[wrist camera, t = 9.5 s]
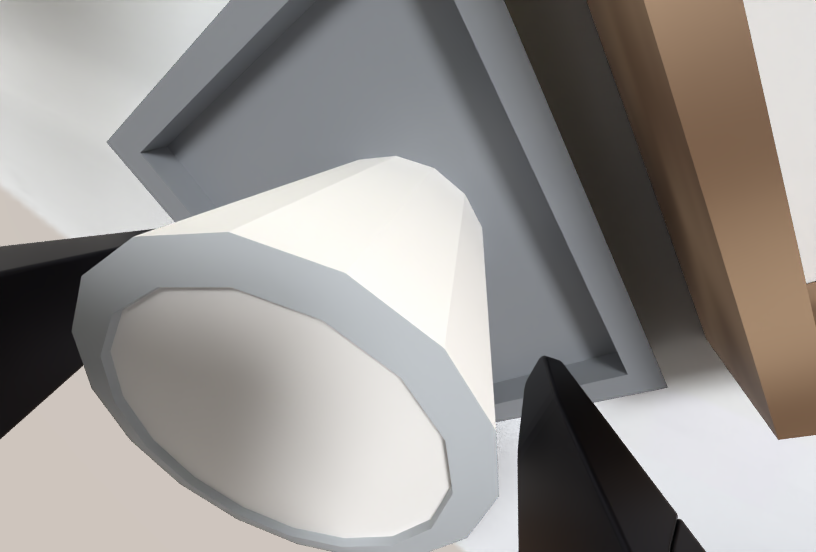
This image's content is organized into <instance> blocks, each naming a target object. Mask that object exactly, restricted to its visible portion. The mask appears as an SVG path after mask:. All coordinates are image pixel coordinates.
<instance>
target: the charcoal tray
mask: <svg viewBox="0 0 816 552" xmlns="http://www.w3.org/2000/svg"><path fill="white" fill-rule="evenodd" d="M107 143H108V145H109V146H110V147H111V148H112V149H113V150H114V152H115V153H116V154H117V155H118V156H119V157H120V159H121V160H122V161H123V162H124V163H125V164H126V166H127V167H128V168H129V169H130V170H131V171H132V173H133V174H134V175H135V176H136V177H137V178H138V180H139V181H140V182H141V183H142V184H143V185H144V187H145V188H146V189H147V190H148V191H149V192H150V194H151V195H152V196H153V197H154V198H155V199H156V201H157V202H158V203H159V204H160V205H161V206H162V208H163V209H164V210H165V211H166V212H167V213H168V215H169V216H170V217H171V218H172V219H173V220H174V222H178V221H181V220H184V219H187V218H189V217H192V216H195V215H198V214H201V213H204V212H207V211H210V210H213V209H216V208H219V207H222V206H225V205H228V204H230V203H233V202H236V201H239V200H242V199H245V198H248V197H251V196H254V195H257V194H260V193H263V192H266V191H269V190H272V189H274V188H277V187H280V186H283V185H286V184H289V183H292V182H295V181H298V180H301V179H304V178H307V177H310V176H313V175H316V174H318V173H321V172H324V171H327V170H330V169H333V168H336V167H339V166H342V165H345V164H348V163H351V162H354V161H357V160H361V159H370V158H380V157H390V156H398V157H401V158H404V159H407V160H411V161H414V162H417V163H420V164H423V165H426V166H429V167H432V168H435V169H436V170H437V171H438V172H439V173H441V174H442V175H443V176H444V177H445V178H446V179H448V180H449V181H450V182H451V183H452V184H454V185H455V186H456V187H457V188H458V189H459V190H461V191H462V192H463V193H464V194H465V195H466V197H467V199H468V201H469V203H470V205H471V207H472V209H473V211H474V213H475V215H476V217H477V219H478V221H479V223H480V225H481V227H482V233H483V247H484V262H485V277H486V291H487V306H488V320H489V335H490V349H491V364H492V378H493V393H494V407H495V422H500V421H505V420H510V419H515V418H519V417H521V414H522V404H523V395H524V387H525V384H526V381H527V379H528V377H529V375H530V373H531V372H532V370H533V368H534V366H535V365H536V363H537V361H538V360H539V358H540V357H541V356H544V355H545V356H548V357H551V358H555V359H558V360H560V361H561V362H562V363H563V364H564V365H565V366H566V368H567V369H568V370H569V372H570V373H571V374H572V376H573V377H574V378H575V380H576V381H577V382H578V384H579V385H580V386H581V388H582V389H583V390H584V391H585V393H586V394H587V395H588V397H589V398H590V399H591V401H592V402H593V403H594V402H599V401H604V400H609V399H614V398H619V397H624V396H629V395H634V394H639V393H644V392H649V391H654V390H659V389H664V388H668V387H667V385H666V382H665V380H664V377H663V375H662V373H661V370H660V368H659V366H658V363H657V361H656V359H655V356H654V354H653V351H652V349H651V347H650V344H649V342H648V340H647V337H646V335H645V333H644V330H643V328H642V325H641V323H640V321H639V318H638V316H637V314H636V311H635V309H634V307H633V304H632V302H631V299H630V297H629V295H628V292H627V290H626V288H625V285H624V283H623V281H622V278H621V276H620V273H619V271H618V269H617V266H616V264H615V262H614V259H613V257H612V255H611V252H610V250H609V247H608V245H607V243H606V240H605V238H604V236H603V233H602V231H601V228H600V226H599V224H598V221H597V219H596V217H595V214H594V212H593V210H592V207H591V205H590V202H589V200H588V198H587V195H586V193H585V191H584V188H583V186H582V184H581V181H580V179H579V176H578V174H577V172H576V169H575V167H574V165H573V162H572V160H571V158H570V155H569V153H568V150H567V148H566V146H565V143H564V141H563V139H562V136H561V134H560V132H559V129H558V127H557V124H556V122H555V120H554V117H553V115H552V113H551V110H550V108H549V106H548V103H547V101H546V98H545V96H544V94H543V91H542V89H541V87H540V84H539V82H538V80H537V77H536V75H535V72H534V70H533V68H532V65H531V63H530V61H529V58H528V56H527V54H526V51H525V49H524V46H523V44H522V42H521V39H520V37H519V35H518V32H517V30H516V28H515V25H514V23H513V20H512V18H511V16H510V13H509V11H508V9H507V6H506V4H505V2H504V0H230V1H229V3H228V4H227V5H226V6H225V7H224V8H223V9H222V11H221V12H220V13H219V14H218V15H217V16H216V17H215V19H214V20H213V21H212V22H211V23H210V24H209V25H208V27H207V28H206V29H205V30H204V31H203V32H202V33H201V35H200V36H199V37H198V38H197V39H196V40H195V41H194V43H193V44H192V45H191V46H190V47H189V48H188V49H187V51H186V52H185V53H184V54H183V55H182V56H181V57H180V59H179V60H178V61H177V62H176V63H175V64H174V65H173V67H172V68H171V69H170V70H169V71H168V72H167V73H166V75H165V76H164V77H163V78H162V79H161V80H160V82H159V83H158V84H157V85H156V86H155V87H154V88H153V90H152V91H151V92H150V93H149V94H148V95H147V96H146V98H145V99H144V100H143V101H142V102H141V103H140V104H139V106H138V107H137V108H136V109H135V110H134V111H133V112H132V114H131V115H130V116H129V117H128V118H127V119H126V120H125V122H124V123H123V124H122V125H121V126H120V127H119V128H118V130H117V131H116V132H115V133H114V134H113V135H112V136H111V138H110V139H109V140H108V141H107Z"/></svg>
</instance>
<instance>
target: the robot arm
mask: <svg viewBox="0 0 816 552" xmlns="http://www.w3.org/2000/svg"><path fill="white" fill-rule="evenodd" d="M151 230H154V229H150V230H141V231H132V232H123V233H115V234H106V235H97V236H88V237H80V238H71V239H62V240H53V241H45V242H36V243H27V244H18V245H9V246H1V247H0V439H1V438H2V437H3V436H4V435H6V434H7V433H8V432H9V431H10V430H11V429H12V428H13V427H15V426H16V425H17V424H18V423H19V422H20V421H21V420H22V419H24V418H25V417H26V416H27V415H28V414H29V413H30V412H31V411H32V410H34V409H35V408H36V407H37V406H38V405H39V404H40V403H41V402H43V401H44V400H45V399H46V398H47V397H48V396H49V395H51V394H52V393H53V392H54V391H55V390H56V389H57V388H58V387H59V386H61V385H62V384H63V383H64V382H65V381H66V380H67V379H69V378H70V377H71V376H72V375H73V374H74V373H75V372H76V371H78V370H79V369H80V368H81V367H82V366H83V362H82V359H81V356H80V354H79V351H78V348H77V345H76V342H75V339H74V337H73V334H72V326H73V321H74V315H75V310H76V304H77V299H78V293H79V287H80V282H81V276H82V275H84V274H85V273H86V272H88V271H89V270H90V269H91V268H93V267H94V266H95V265H97V264H98V263H99V262H101V261H102V260H103V259H105V258H106V257H107V256H108V255H110V254H111V253H112V252H114V251H115V250H116V249H118V248H119V247H120V246H122V245H123V244H124V243H126V242H127V241H128V240H129V239H131V238H132V237H134V236H137V235H140V234H143V233H145V232H148V231H151ZM677 518H678V515H677V513H676V512H675V511H674V509H673V508H672V507H671V505H670V504H669V503H668V501H667V500H666V499H665V497H664V496H663V495H662V493H661V492H660V491H659V489H658V488H657V487H656V485H655V484H654V483H653V481H652V480H651V479H650V477H649V476H648V475H647V473H646V472H645V471H644V470H643V468H642V467H641V466H640V464H639V463H638V462H637V460H636V459H635V458H634V456H633V455H632V454H631V452H630V451H629V450H628V448H627V447H626V446H625V444H624V443H623V442H622V440H621V439H620V438H619V436H618V435H617V434H616V432H615V431H614V430H613V429H612V427H611V426H610V425H609V423H608V422H607V421H606V419H605V418H604V417H603V415H602V414H601V413H600V411H599V410H598V409H597V407H596V406H595V405H594V403H593V402H592V401H591V399H590V398H589V397H588V395H587V394H586V393H585V391H584V390H583V389H582V388H581V386H580V385H579V384H578V382H577V381H576V380H575V378H574V377H573V376H572V374H571V373H570V372H569V370H568V369H567V368H566V366H565V365H564V364H563V363H562V362H561V361H560V360H558V359H555V358H551V357H548V356H545V355H544V356H541V357H540V358H539V360H538V361H537V363H536V365H535V366H534V368H533V370H532V372H531V373H530V375H529V377H528V379H527V381H526V384H525V387H524V395H523V404H522V414H521V423H520V433H519V442H518V537H519V552H706V551H705V550H704V548H703V547H702V546H701V545H700V543H699V542H698V541H697V539H696V538H695V537H694V535H693V534H692V533H691V531H690V530H689V529H688V527H687V526H686V525H685V524H684V522H683V521H682V520H681V519H677Z"/></svg>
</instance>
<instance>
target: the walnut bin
mask: <svg viewBox="0 0 816 552" xmlns="http://www.w3.org/2000/svg"><path fill="white" fill-rule="evenodd" d="M586 1H587V4H588V7H589V9H590V12H591V15H592V18H593V21H594V24H595V26H596V29H597V32H598V35H599V38H600V41H601V43H602V46H603V49H604V52H605V55H606V57H607V60H608V63H609V66H610V69H611V72H612V74H613V77H614V80H615V83H616V86H617V88H618V91H619V94H620V97H621V100H622V103H623V105H624V108H625V111H626V114H627V117H628V120H629V122H630V125H631V128H632V131H633V134H634V136H635V139H636V142H637V145H638V148H639V151H640V153H641V156H642V159H643V162H644V165H645V168H646V170H647V173H648V176H649V179H650V182H651V184H652V187H653V190H654V193H655V196H656V199H657V201H658V204H659V207H660V210H661V213H662V215H663V218H664V221H665V224H666V227H667V230H668V232H669V235H670V238H671V241H672V244H673V247H674V249H675V252H676V255H677V258H678V261H679V263H680V266H681V269H682V272H683V275H684V278H685V280H686V283H687V286H688V289H689V292H690V294H691V297H692V300H693V303H694V306H695V309H696V311H697V314H698V317H699V320H700V323H701V326H702V328H703V331H704V334H705V337H706V339H707V341H708V342H709V344H710V345H711V346H712V348H713V349H714V351H715V352H716V353H717V355H718V356H719V358H720V359H721V360H722V362H723V363H724V365H725V366H726V367H727V369H728V370H729V372H730V373H731V374H732V376H733V377H734V379H735V380H736V381H737V383H738V384H739V386H740V387H741V388H742V390H743V391H744V393H745V394H746V395H747V397H748V398H749V399H750V401H751V402H752V404H753V405H754V406H755V408H756V409H757V411H758V412H759V413H760V415H761V416H762V418H763V419H764V420H765V422H766V423H767V425H768V426H769V427H770V429H771V430H772V432H773V433H774V434H775V436H776V437H777V439H778V440H780V439H788V438H796V437H803V436H811V435H816V282H813V283H809V284H806V281H805V276H804V272H803V267H802V263H801V258H800V254H799V249H798V245H797V240H796V236H795V232H794V227H793V223H792V218H791V214H790V209H789V205H788V200H787V196H786V191H785V187H784V182H783V178H782V173H781V169H780V164H779V160H778V156H777V151H776V147H775V142H774V138H773V133H772V129H771V124H770V120H769V115H768V111H767V106H766V102H765V97H764V93H763V88H762V84H761V80H760V75H759V71H758V66H757V62H756V57H755V53H754V48H753V44H752V39H751V35H750V30H749V26H748V21H747V17H746V13H745V8H744V4H743V0H586Z"/></svg>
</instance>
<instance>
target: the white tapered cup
mask: <svg viewBox="0 0 816 552" xmlns="http://www.w3.org/2000/svg"><path fill="white" fill-rule="evenodd" d="M72 334H73V337H74V339H75V342H76V345H77V348H78V351H79V354H80V356H81V359H82V362H83V365H84V368H85V371H86V374H87V376H88V379H89V382H90V385H91V388H92V389H93V391H94V392H95V393H96V395H97V396H98V397H99V399H100V400H101V401H102V403H103V404H104V405H105V407H106V408H107V409H108V411H109V412H110V413H111V415H112V416H113V417H114V419H115V420H116V421H117V423H118V424H119V426H120V427H121V428H122V429H123V431H124V432H125V434H126V435H127V436H128V437H129V439H130V440H131V441H132V442H133V443H135V445H137V446H138V447H139V448H140V449H141V450H142V451H144V453H146V454H147V455H148V456H149V457H150V458H151V459H152V460H154V461H155V462H156V463H157V464H158V465H159V466H160V467H161V468H163V469H164V470H165V471H166V472H167V473H168V474H170V475H171V476H172V477H173V478H174V479H175V480H176V481H177V482H179V483H180V484H181V485H183V486H184V487H186V488H188V489H189V490H191V491H192V492H194V493H196V494H197V495H199V496H200V497H202V498H204V499H206V500H207V501H208V502H210V503H212V504H214V505H215V506H217V507H218V508H220V509H221V510H223V511H225V512H226V513H228V514H230V515H231V516H233V517H234V518H236V519H238V520H240V521H243V522H245V523H248V524H250V525H253V526H255V527H257V528H260V529H262V530H265V531H267V532H269V533H272V534H274V535H277V536H279V537H282V538H284V539H286V540H289V541H291V542H294V543H296V544H300V545H305V546H309V547H313V548H318V549H323V550H327V551H332V552H430V551H433V550H435V549H438V548H441V547H444V546H446V545H449V544H452V543H454V542H457V541H460V540H463V539H465V538H467V537H468V536H469V535H470V533H471V532H472V531H473V530H474V528H475V527H476V526H477V524H478V523H479V522H480V520H481V519H482V518H483V516H484V515H485V514H486V513H487V511H488V510H489V509H490V507H491V506H492V505H493V503H494V502H495V501H496V499H497V498H498V497H499V488H498V464H497V440H496V422H495V407H494V393H493V378H492V364H491V349H490V335H489V320H488V306H487V291H486V277H485V262H484V247H483V233H482V227H481V225H480V223H479V221H478V219H477V217H476V215H475V213H474V211H473V209H472V207H471V205H470V203H469V201H468V199H467V197H466V195H465V194H464V193H463V192H462V191H461V190H459V189H458V188H457V187H456V186H455V185H454V184H452V183H451V182H450V181H449V180H448V179H446V178H445V177H444V176H443V175H442V174H441V173H439V172H438V171H437V170H436V169H435V168H432V167H429V166H426V165H423V164H420V163H417V162H414V161H411V160H407V159H404V158H401V157H398V156H390V157H380V158H370V159H361V160H357V161H354V162H351V163H348V164H345V165H342V166H339V167H336V168H333V169H330V170H327V171H324V172H321V173H318V174H316V175H313V176H310V177H307V178H304V179H301V180H298V181H295V182H292V183H289V184H286V185H283V186H280V187H277V188H274V189H272V190H269V191H266V192H263V193H260V194H257V195H254V196H251V197H248V198H245V199H242V200H239V201H236V202H233V203H230V204H228V205H225V206H222V207H219V208H216V209H213V210H210V211H207V212H204V213H201V214H198V215H195V216H192V217H189V218H187V219H184V220H181V221H178V222H175V223H172V224H169V225H166V226H163V227H160V228H157V229H154V230H151V231H148V232H145V233H143V234H140V235H137V236H134V237H132V238H131V239H129V240H128V241H127V242H126V243H124V244H123V245H122V246H120V247H119V248H118V249H116V250H115V251H114V252H112V253H111V254H110V255H108V256H107V257H106V258H105V259H103V260H102V261H101V262H99V263H98V264H97V265H95V266H94V267H93V268H91V269H90V270H89V271H88V272H86V273H85V274H84V275H82V276H81V282H80V287H79V293H78V299H77V304H76V310H75V315H74V321H73V326H72Z"/></svg>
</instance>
